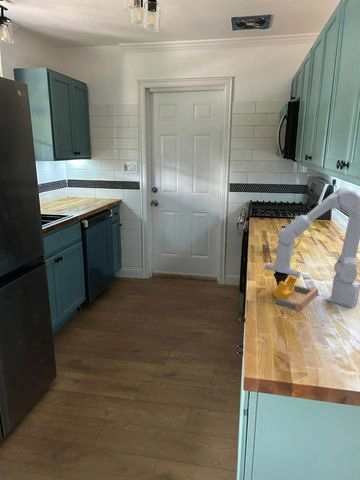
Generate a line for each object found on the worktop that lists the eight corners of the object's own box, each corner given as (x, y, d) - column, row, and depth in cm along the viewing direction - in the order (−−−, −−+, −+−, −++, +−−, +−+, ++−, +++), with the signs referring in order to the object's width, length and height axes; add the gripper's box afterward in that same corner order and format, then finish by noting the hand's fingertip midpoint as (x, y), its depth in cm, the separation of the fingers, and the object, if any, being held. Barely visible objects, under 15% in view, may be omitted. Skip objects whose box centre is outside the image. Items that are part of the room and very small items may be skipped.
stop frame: (317, 295, 138) (318, 288, 137) (299, 311, 124) (300, 303, 123) (294, 289, 144) (295, 282, 143) (275, 303, 130) (275, 296, 129)
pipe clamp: (283, 301, 131) (289, 287, 129) (273, 295, 134) (279, 281, 131) (295, 293, 140) (301, 280, 138) (285, 287, 143) (292, 274, 140)
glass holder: (286, 249, 201) (289, 225, 197) (304, 256, 189) (307, 230, 185) (274, 251, 198) (277, 226, 194) (292, 258, 185) (295, 231, 181)
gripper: (305, 259, 133) (300, 291, 137) (271, 251, 142) (267, 282, 146) (298, 264, 128) (293, 297, 131) (263, 255, 137) (260, 286, 140)
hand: (279, 289), depth 138 cm, fingers closed
